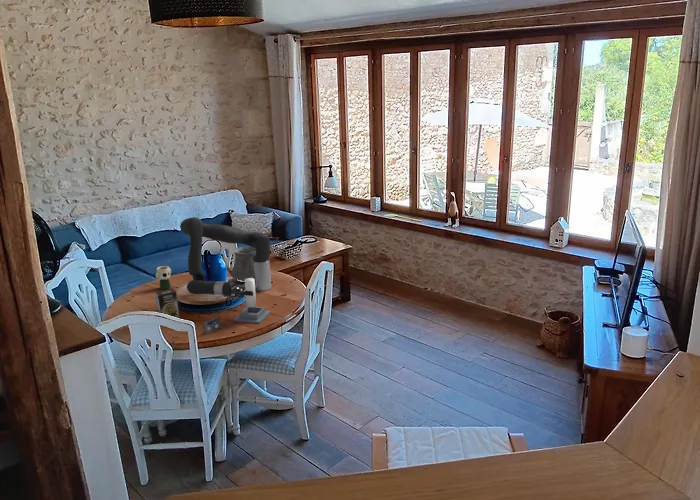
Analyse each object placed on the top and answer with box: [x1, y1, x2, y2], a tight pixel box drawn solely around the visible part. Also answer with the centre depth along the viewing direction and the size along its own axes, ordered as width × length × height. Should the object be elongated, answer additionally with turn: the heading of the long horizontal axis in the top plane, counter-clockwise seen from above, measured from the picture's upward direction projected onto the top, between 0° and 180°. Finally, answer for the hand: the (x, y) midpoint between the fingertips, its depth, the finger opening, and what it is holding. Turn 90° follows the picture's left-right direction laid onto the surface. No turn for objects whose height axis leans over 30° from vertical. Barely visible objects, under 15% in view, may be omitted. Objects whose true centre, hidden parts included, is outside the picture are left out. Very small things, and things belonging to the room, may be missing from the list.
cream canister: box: [244, 278, 257, 307], centre depth 277 cm, size 5×5×14 cm
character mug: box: [155, 265, 172, 290], centre depth 323 cm, size 11×7×13 cm, turn 149°
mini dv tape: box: [202, 317, 222, 335], centre depth 265 cm, size 8×2×6 cm, turn 133°
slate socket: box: [233, 306, 272, 324], centre depth 280 cm, size 14×14×4 cm
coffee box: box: [154, 288, 180, 319], centre depth 276 cm, size 9×6×16 cm
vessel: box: [226, 245, 256, 281], centre depth 333 cm, size 22×22×20 cm
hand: (255, 291), depth 276 cm, fingers closed on cream canister, 5 cm apart
